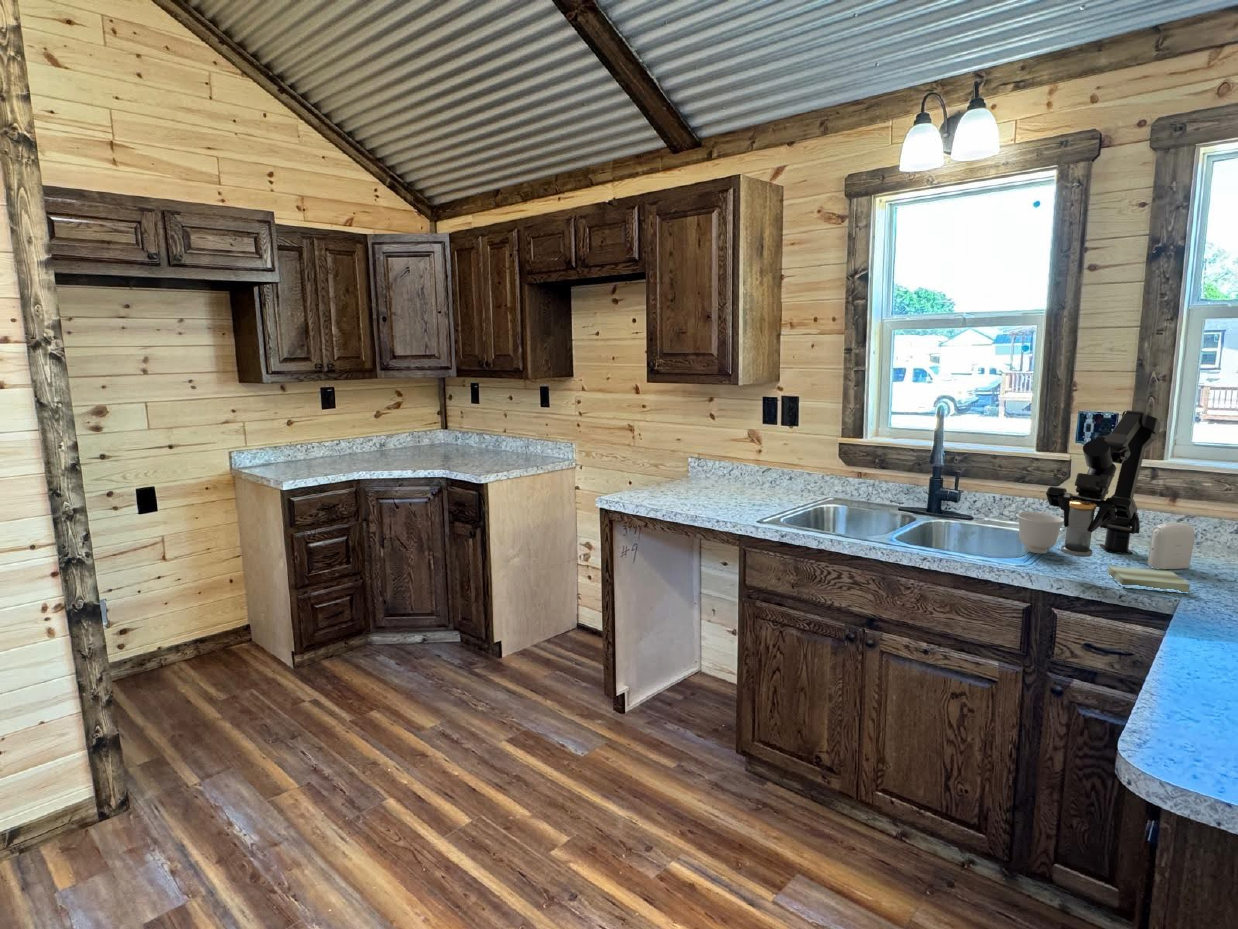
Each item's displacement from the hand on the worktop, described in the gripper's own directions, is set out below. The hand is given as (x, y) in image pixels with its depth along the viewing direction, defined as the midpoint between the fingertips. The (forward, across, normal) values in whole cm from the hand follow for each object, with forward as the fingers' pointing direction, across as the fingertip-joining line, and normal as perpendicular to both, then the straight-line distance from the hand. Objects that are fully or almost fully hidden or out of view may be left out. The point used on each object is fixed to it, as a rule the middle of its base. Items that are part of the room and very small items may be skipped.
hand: (1077, 528), depth 183 cm
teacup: (-4, -15, +23) cm, 28 cm away
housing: (+4, 0, +6) cm, 7 cm away
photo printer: (-11, +14, +30) cm, 35 cm away
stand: (+3, +14, +16) cm, 21 cm away
